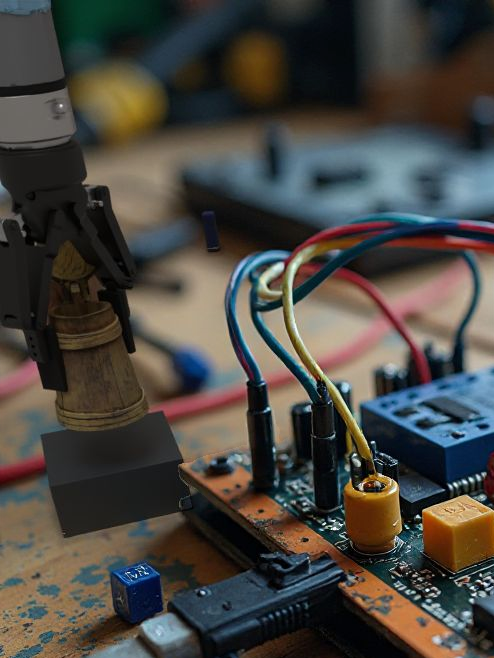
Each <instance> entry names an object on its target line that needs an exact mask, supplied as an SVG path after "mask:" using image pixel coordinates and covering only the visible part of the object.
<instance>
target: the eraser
mask: <svg viewBox="0 0 494 658" xmlns="http://www.w3.org/2000/svg"><path fill="white" fill-rule="evenodd" d="M201 219H202V220H201V221H202V226H203V233H204V239H205V244H206V245H205V246H206V250H207V252H208V253H213V252H214V253H215V252H219V251H220V248H221V247H219V248H218V249H207V248H213V247H218V246H220V239H219V238H220V237H219V233H218V226H217V219H216V215H215V211H213V210H209V211H208V210H207V211H202V213H201Z"/></svg>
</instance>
